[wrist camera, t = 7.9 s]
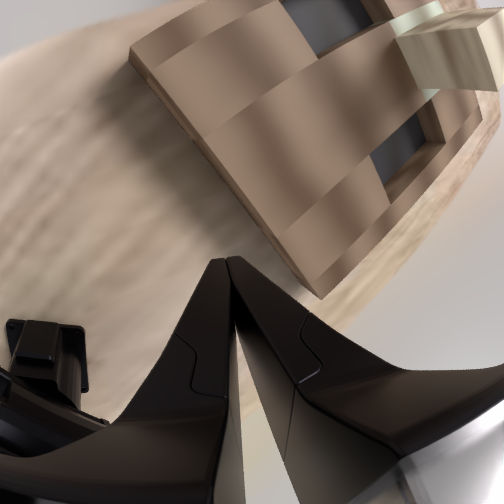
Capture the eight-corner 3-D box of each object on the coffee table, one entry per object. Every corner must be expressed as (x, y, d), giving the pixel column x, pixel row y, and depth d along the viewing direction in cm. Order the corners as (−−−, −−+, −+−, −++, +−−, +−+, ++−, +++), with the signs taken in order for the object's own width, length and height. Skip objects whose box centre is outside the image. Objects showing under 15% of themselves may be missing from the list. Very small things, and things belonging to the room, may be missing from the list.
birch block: (418, 89, 22) (497, 91, 15) (394, 37, 19) (476, 27, 12) (459, 55, 22) (522, 55, 16) (440, 13, 20) (505, 7, 13)
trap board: (301, 284, 27) (321, 300, 24) (128, 59, 16) (130, 46, 13) (463, 117, 29) (482, 119, 27) (385, -49, 18) (404, -56, 16)
